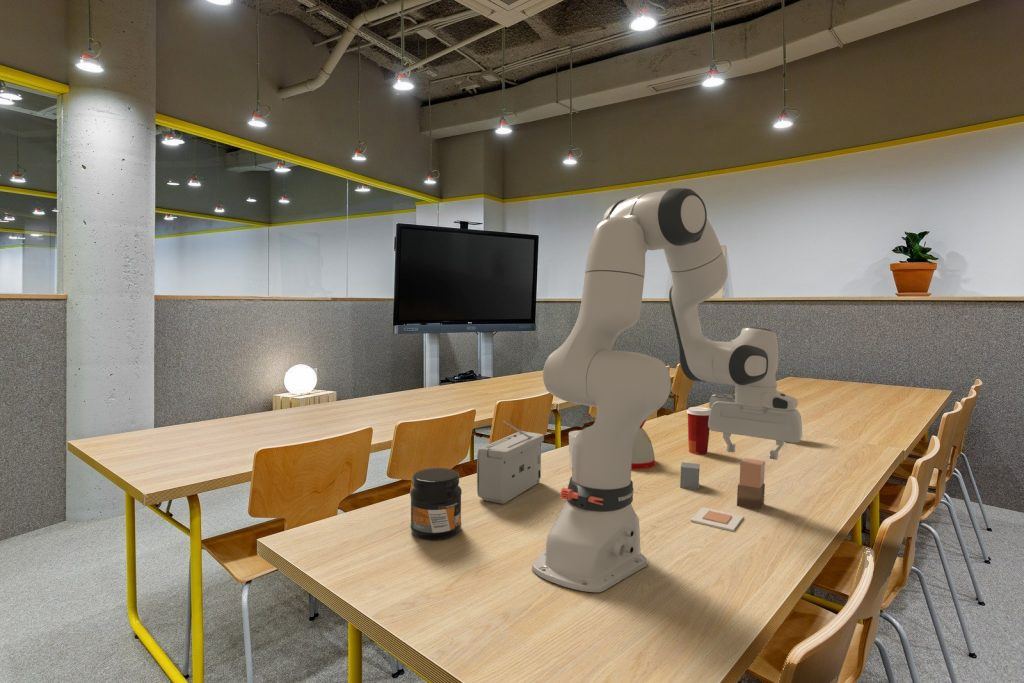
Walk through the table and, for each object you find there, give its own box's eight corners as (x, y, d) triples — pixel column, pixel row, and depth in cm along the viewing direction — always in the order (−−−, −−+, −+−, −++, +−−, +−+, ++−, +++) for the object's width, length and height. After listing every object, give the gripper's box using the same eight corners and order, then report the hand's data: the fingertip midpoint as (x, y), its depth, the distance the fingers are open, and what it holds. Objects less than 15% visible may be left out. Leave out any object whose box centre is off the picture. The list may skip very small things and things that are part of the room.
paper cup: (713, 451, 179) (714, 408, 178) (707, 456, 173) (709, 412, 172) (688, 447, 184) (690, 405, 182) (681, 452, 177) (683, 409, 176)
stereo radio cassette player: (518, 477, 152) (518, 404, 150) (545, 482, 147) (546, 407, 146) (475, 501, 133) (475, 418, 132) (504, 507, 129) (505, 422, 128)
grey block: (698, 489, 143) (699, 468, 143) (680, 487, 144) (680, 466, 144) (698, 484, 147) (699, 463, 147) (681, 482, 149) (681, 462, 148)
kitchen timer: (646, 472, 157) (648, 419, 156) (600, 464, 164) (601, 414, 163) (659, 459, 169) (661, 411, 168) (616, 453, 176) (617, 406, 175)
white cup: (594, 472, 156) (595, 437, 155) (566, 470, 157) (567, 436, 157) (596, 464, 164) (597, 431, 163) (569, 462, 165) (570, 429, 164)
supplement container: (441, 546, 109) (441, 486, 108) (399, 534, 114) (399, 477, 113) (471, 527, 118) (471, 471, 117) (431, 517, 123) (431, 464, 122)
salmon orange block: (759, 488, 129) (760, 465, 129) (739, 485, 132) (740, 462, 131) (763, 483, 133) (764, 461, 132) (743, 480, 135) (744, 457, 135)
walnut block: (759, 510, 129) (760, 489, 129) (736, 505, 132) (737, 485, 132) (763, 504, 133) (764, 483, 133) (741, 499, 136) (742, 479, 136)
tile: (733, 531, 117) (733, 528, 117) (690, 521, 122) (690, 518, 122) (743, 517, 125) (743, 514, 125) (702, 508, 130) (702, 506, 130)
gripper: (706, 393, 134) (703, 450, 135) (801, 403, 122) (797, 466, 123) (713, 390, 139) (710, 445, 140) (805, 400, 127) (801, 460, 128)
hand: (752, 455), depth 131 cm, fingers open, 8 cm apart
